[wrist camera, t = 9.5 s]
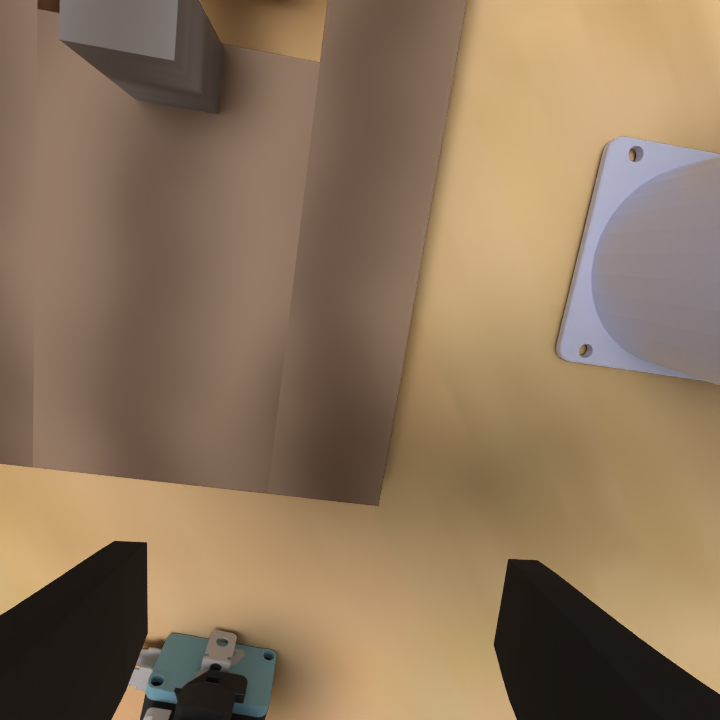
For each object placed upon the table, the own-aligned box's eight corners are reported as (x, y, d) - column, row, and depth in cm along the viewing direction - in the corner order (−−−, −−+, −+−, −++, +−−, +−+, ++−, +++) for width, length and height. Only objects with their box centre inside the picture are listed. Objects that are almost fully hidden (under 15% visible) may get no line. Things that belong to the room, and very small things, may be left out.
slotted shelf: (498, -251, 14) (613, -605, 8) (373, 480, 19) (391, 579, 13) (-67, -393, 13) (-399, -929, 7) (-46, 431, 18) (-231, 517, 12)
